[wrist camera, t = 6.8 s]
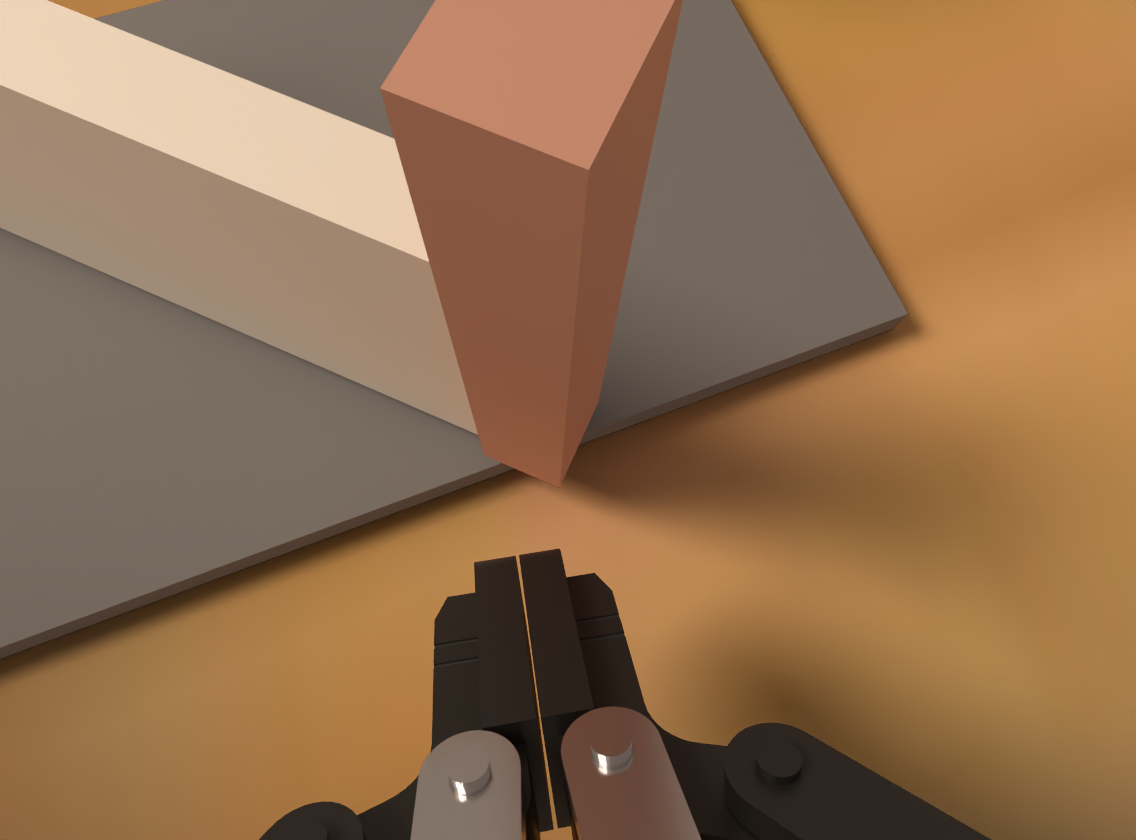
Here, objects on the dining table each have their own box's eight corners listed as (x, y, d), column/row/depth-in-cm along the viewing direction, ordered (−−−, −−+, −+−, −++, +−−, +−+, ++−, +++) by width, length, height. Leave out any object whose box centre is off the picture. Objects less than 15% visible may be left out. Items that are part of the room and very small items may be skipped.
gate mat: (-122, 704, 18) (-159, 706, 17) (-194, 127, 23) (-226, 103, 22) (892, 329, 22) (908, 313, 21) (653, -102, 26) (657, -131, 25)
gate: (-94, 203, 20) (-996, -452, 8) (-37, 133, 21) (-796, -564, 9) (559, 488, 19) (587, 169, 7) (598, 401, 19) (688, -27, 7)
